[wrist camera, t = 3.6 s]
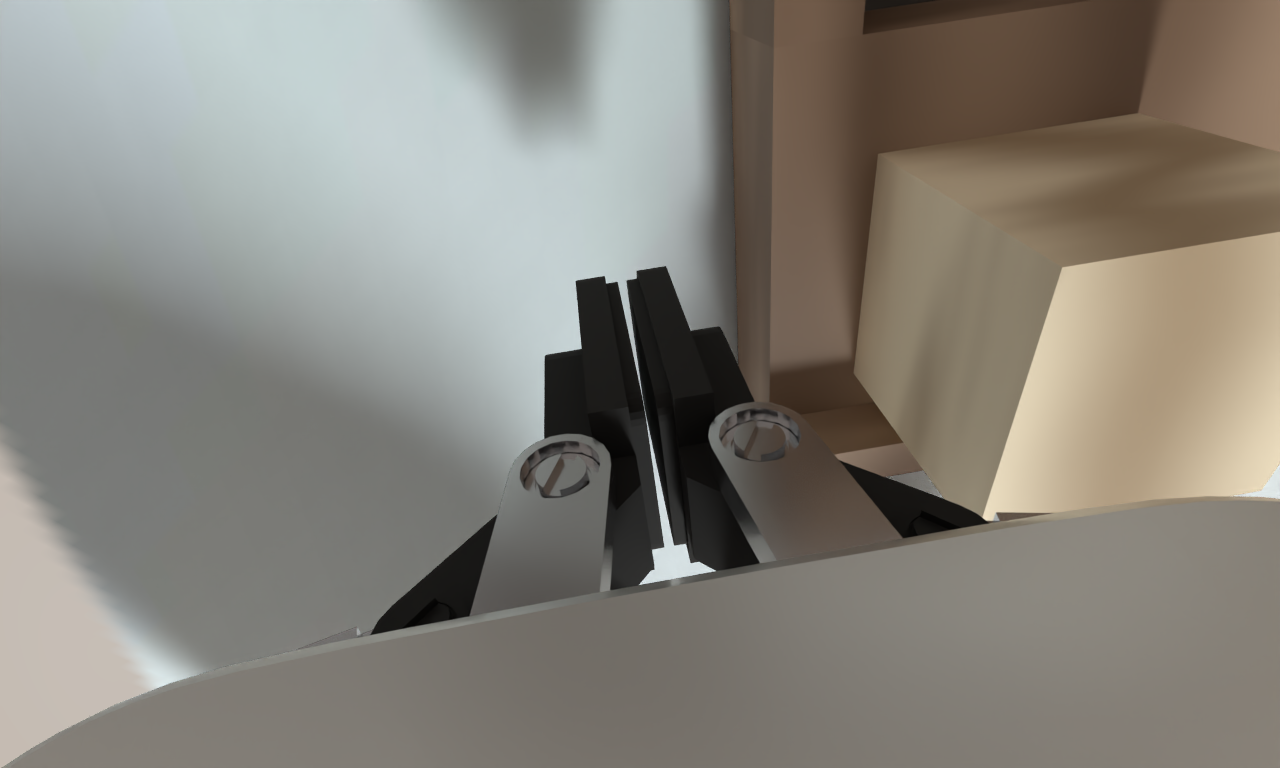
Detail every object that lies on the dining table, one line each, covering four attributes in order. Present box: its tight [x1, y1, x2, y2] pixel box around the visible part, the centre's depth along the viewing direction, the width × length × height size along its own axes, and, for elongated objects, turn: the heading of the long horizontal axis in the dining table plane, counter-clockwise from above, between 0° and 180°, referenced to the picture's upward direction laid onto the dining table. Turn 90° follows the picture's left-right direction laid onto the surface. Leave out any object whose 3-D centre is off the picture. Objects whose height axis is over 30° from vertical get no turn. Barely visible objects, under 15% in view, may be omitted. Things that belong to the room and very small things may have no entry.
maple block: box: [854, 113, 1280, 521], centre depth 11 cm, size 5×5×5 cm
